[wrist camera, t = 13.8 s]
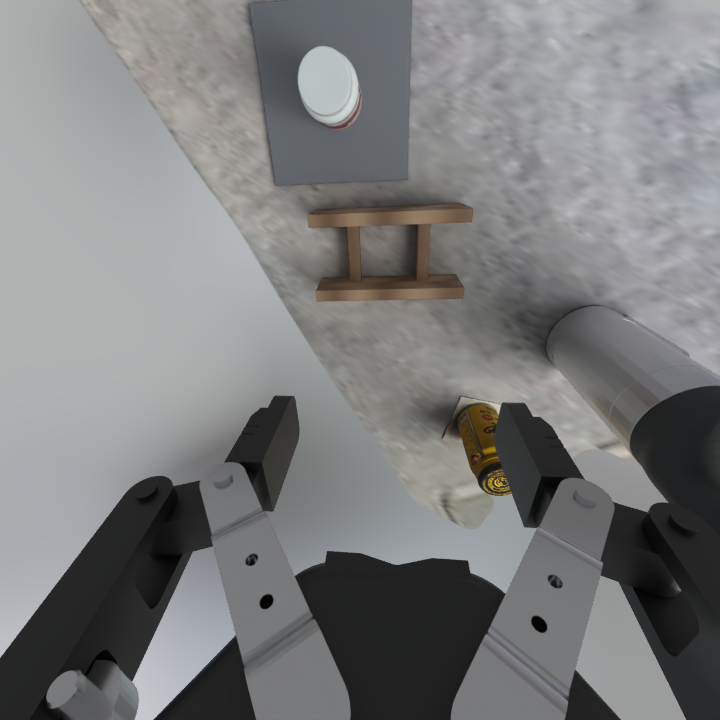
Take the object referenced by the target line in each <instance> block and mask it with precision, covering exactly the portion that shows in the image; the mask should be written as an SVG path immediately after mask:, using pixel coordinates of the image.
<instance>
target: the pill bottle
mask: <svg viewBox="0 0 720 720" xmlns="http://www.w3.org/2000/svg"><path fill="white" fill-rule="evenodd" d="M298 87H299V92H300V95H301V100H302V102H303V104H304V107H305V108H306V110H307V111H308V113H309V114H310V115H311V116H312V117H313V118H314V119H316V120H317V121H319V122H320V123H322V124H323V125H325V126H327V127H328V128H331V129H335V130H340V129H344V128H347V127H349V126H350V125H351V124H352V123H353V122H354V121H355V120H356V118H357V117H358V115H359V112H360V109H361V103H362V95H361V90H360V86H359V82H358V79H357V75H356V72H355V69H354V67H353V65H352V64H351V62H350V61H349V60H348V59H347V57H346V56H344V55H343V54H342V53H340V52H338V51H337V50H335V49H334V48H332V47H328V46H318V47H315V48H313V49H311V50H310V51H309V52H308V53H307V54H306V55H305V56H304V58H303V59H302V61H301V63H300V66H299V70H298Z"/></svg>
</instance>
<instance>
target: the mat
mask: <svg viewBox="0 0 720 720" xmlns="http://www.w3.org/2000/svg"><path fill="white" fill-rule="evenodd" d="M249 7H250V14H251V20H252V27H253V34H254V41H255V47H256V54H257V61H258V68H259V75H260V81H261V88H262V95H263V102H264V108H265V115H266V122H267V129H268V135H269V142H270V149H271V156H272V162H273V169H274V176H275V183H276V186H278V185H300V184H322V183H344V182H366V181H388V180H408V139H409V99H410V59H411V18H412V0H284V1H273V2H262V3H250V4H249ZM318 46H328V47H332V48H334V49H335V50H337V51H338V52H340V53H342V54H343V55H344V56H346V57H347V59H348V60H349V61H350V62H351V64H352V65H353V67H354V69H355V72H356V75H357V79H358V82H359V86H360V90H361V95H362V103H361V109H360V112H359V115H358V117H357V118H356V120H355V121H354V122H353V123H352V124H351V125H350V126H349V127H347V128H344V129H340V130H335V129H331V128H328V127H327V126H325V125H323V124H322V123H320V122H319V121H317V120H316V119H314V118H313V117H312V116H311V115H310V114H309V113H308V111H307V110H306V108H305V107H304V104H303V102H302V100H301V95H300V92H299V87H298V70H299V66H300V63H301V61H302V59H303V58H304V56H305V55H306V54H307V53H308V52H309V51H310V50H311V49H313V48H315V47H318Z"/></svg>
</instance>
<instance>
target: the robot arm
mask: <svg viewBox="0 0 720 720" xmlns="http://www.w3.org/2000/svg"><path fill="white" fill-rule="evenodd" d="M546 349H547V354H548V357H549V359H550V360H551V361H552V362H553V364H554V365H555V366H556V367H557V368H558V369H559V371H560V372H561V373H562V374H563V375H564V377H565V378H566V379H567V380H568V381H569V383H570V384H571V385H572V386H573V387H574V388H575V390H576V391H577V392H578V393H579V394H580V395H581V396H582V398H583V399H584V400H585V401H586V402H587V403H588V405H589V406H590V407H591V408H592V409H593V410H594V412H595V413H596V414H597V415H598V416H599V417H600V419H601V420H602V421H603V422H604V423H605V424H606V426H607V427H608V428H609V429H610V430H611V431H612V432H613V434H614V435H615V436H616V437H617V438H618V439H619V440H620V442H621V443H622V444H623V445H624V446H625V447H626V449H627V450H628V451H629V452H630V453H631V454H632V455H633V457H634V458H635V459H636V460H637V461H638V462H639V464H641V466H642V467H643V469H644V470H645V472H646V474H647V476H648V477H649V479H650V480H651V482H652V483H653V484H654V486H655V487H656V488H657V489H658V490H659V492H661V494H662V495H663V496H664V498H665V499H666V500H667V501H668V503H656V504H653V505H652V506H651V507H650V509H649V511H648V512H644V511H641V510H638V509H634V508H630V507H627V506H624V505H620V504H617V503H615V502H613V501H612V499H611V497H610V496H609V495H608V494H607V493H606V492H605V491H604V490H603V489H602V488H600V487H599V486H597V485H596V484H593V483H592V482H589V481H587V480H585V479H584V478H583V476H582V475H581V473H580V471H579V470H578V468H577V466H576V465H575V463H574V462H573V460H572V458H571V457H570V455H569V454H568V452H567V450H566V449H565V448H564V446H563V444H562V442H561V441H560V439H558V436H557V434H556V433H555V431H554V430H553V428H552V426H550V425H549V424H548V423H547V422H545V421H544V420H543V419H542V418H540V417H533V416H532V414H531V413H530V411H529V409H528V407H527V406H526V404H525V403H504V402H503V403H502V404H501V407H500V412H499V416H498V421H497V425H496V430H495V435H494V443H495V449H496V452H497V455H498V457H499V460H500V463H501V466H502V468H503V471H504V474H505V476H506V479H507V482H508V484H509V487H510V490H511V492H512V495H513V498H514V501H515V503H516V506H517V509H518V511H519V514H520V517H521V519H522V522H523V525H524V527H529V528H537V530H536V532H535V534H534V536H533V538H532V540H531V542H530V544H529V546H528V548H527V550H526V552H525V555H524V557H523V559H522V561H521V563H520V565H519V567H518V569H517V571H516V573H515V576H514V578H513V580H512V582H511V584H510V586H509V588H508V590H507V592H506V594H505V593H504V592H503V591H502V590H500V589H499V588H497V587H496V586H495V585H493V584H492V583H490V582H488V581H487V580H485V579H483V578H481V577H479V576H477V575H474V574H471V573H470V570H469V564H468V561H465V560H451V559H450V560H449V559H436V558H431V559H426V560H421V561H417V562H411V563H406V564H401V565H394V564H391V563H388V562H385V561H382V560H378V559H376V558H373V557H370V556H367V555H364V554H361V553H348V552H333V551H327V555H326V561H325V563H321V564H318V565H315V566H312V567H310V568H308V569H306V570H304V571H302V572H300V573H299V574H297V575H296V576H294V574H293V571H292V569H291V567H290V565H289V562H288V560H287V558H286V556H285V553H284V551H283V549H282V547H281V544H280V542H279V540H278V538H277V536H276V533H275V531H274V529H273V527H272V524H271V522H270V520H269V518H268V515H267V513H266V511H274V508H275V505H276V502H277V499H278V497H279V494H280V491H281V488H282V485H283V482H284V480H285V477H286V474H287V471H288V468H289V466H290V462H291V460H292V457H293V454H294V451H295V448H296V446H297V443H298V439H299V422H298V414H297V408H296V401H295V397H294V396H274V397H273V399H272V401H271V403H270V405H269V407H268V408H260V409H259V410H258V411H257V412H255V413H254V414H253V415H252V416H251V417H250V419H249V421H248V423H247V424H246V427H245V428H244V430H243V431H242V433H241V435H240V436H239V438H238V440H237V441H236V443H235V445H234V447H233V448H232V450H231V452H230V454H229V455H228V457H227V459H226V460H225V462H224V463H222V464H219V465H217V466H215V467H213V468H211V469H210V470H209V471H207V472H206V473H205V474H204V476H203V477H202V479H201V480H200V481H196V482H191V483H187V484H182V485H177V486H173V483H172V481H171V480H170V479H169V478H167V477H164V476H155V477H150V478H147V479H145V480H142V481H140V482H139V483H137V484H135V485H134V486H133V487H131V488H130V489H129V490H128V491H127V492H126V493H125V495H124V496H123V497H122V499H121V500H120V501H119V503H118V504H117V505H116V507H115V508H114V509H113V511H112V512H111V513H110V514H109V516H108V517H107V518H106V520H105V521H104V522H103V524H102V525H101V526H100V528H99V529H98V530H97V532H96V533H95V534H94V536H93V537H92V538H91V539H90V541H89V542H88V543H87V545H86V546H85V547H84V549H83V550H82V551H81V553H80V554H79V555H78V557H77V558H76V559H75V560H74V562H73V563H72V564H71V566H70V567H69V569H68V570H67V571H66V572H65V574H64V575H63V576H62V578H61V579H60V580H59V582H58V583H57V584H56V585H55V587H54V588H53V589H52V591H51V592H50V593H49V595H48V596H47V597H46V599H45V600H44V601H43V603H42V604H41V605H40V607H39V608H38V609H37V610H36V612H35V613H34V614H33V616H32V617H31V619H30V620H29V621H28V622H27V624H26V625H25V626H24V628H23V629H22V630H21V632H20V633H19V634H18V635H17V637H16V638H15V639H14V641H13V642H12V643H11V645H10V646H9V647H8V649H7V650H6V651H5V653H4V654H3V655H2V656H1V658H0V720H134V719H135V716H136V713H137V709H138V702H139V698H138V691H137V688H136V687H135V685H134V684H133V683H132V681H133V679H134V677H135V674H136V672H137V670H138V668H139V666H140V664H141V661H142V659H143V657H144V655H145V653H146V651H147V649H148V646H149V644H150V642H151V640H152V638H153V636H154V633H155V631H156V629H157V627H158V625H159V623H160V621H161V619H162V616H163V614H164V612H165V610H166V608H167V606H168V603H169V601H170V599H171V597H172V595H173V593H174V591H175V589H176V586H177V584H178V582H179V580H180V578H181V576H182V573H183V571H184V569H185V567H186V565H187V563H188V561H189V559H190V556H191V554H192V552H193V551H196V550H200V549H204V548H208V547H212V546H213V547H214V551H215V556H216V559H217V563H218V567H219V571H220V575H221V579H222V582H223V587H224V590H225V594H226V598H227V602H228V606H229V610H230V614H231V617H232V621H233V625H234V629H235V633H236V636H235V637H234V638H233V639H232V640H231V641H230V642H229V643H228V644H227V645H226V646H225V647H224V648H223V649H222V650H221V651H220V652H219V653H218V654H217V655H216V656H215V657H214V658H213V659H212V660H211V661H210V662H209V663H208V665H206V667H204V668H203V669H202V671H201V672H200V673H199V674H198V675H197V676H196V677H195V678H194V679H193V680H192V681H191V682H190V683H189V684H188V685H187V686H186V687H185V688H184V689H183V690H182V691H181V692H180V693H179V694H178V695H177V696H176V697H175V698H174V699H173V700H172V701H171V702H170V703H169V704H168V706H166V707H165V708H164V710H163V711H162V712H161V713H160V714H159V715H158V716H157V717H156V718H155V719H154V720H621V719H620V718H619V717H618V716H617V715H616V714H615V713H614V712H613V710H612V709H611V708H610V707H609V706H608V705H607V704H606V703H605V702H604V701H603V699H602V698H601V697H600V696H599V695H598V694H597V693H596V692H595V691H594V690H593V688H592V687H591V686H590V685H589V684H588V683H587V682H586V681H585V680H584V679H583V678H582V676H581V675H580V674H579V673H578V672H577V671H576V670H575V668H576V664H577V660H578V656H579V653H580V649H581V646H582V642H583V637H584V634H585V630H586V627H587V623H588V620H589V616H590V612H591V608H592V605H593V601H594V597H595V594H596V590H597V586H598V582H599V579H600V575H601V576H604V577H607V578H609V579H612V580H615V581H618V582H619V584H620V586H621V588H622V590H623V592H624V594H625V596H626V598H627V600H628V602H629V604H630V606H631V608H632V610H633V612H634V614H635V616H636V618H637V620H638V622H639V624H640V626H641V628H642V630H643V632H644V635H645V637H646V638H647V640H648V643H649V645H650V647H651V649H652V651H653V653H654V655H655V657H656V659H657V661H658V663H659V665H660V667H661V669H662V671H663V673H664V675H665V677H666V679H667V681H668V683H669V685H670V687H671V689H672V691H673V693H674V695H675V697H676V699H677V702H678V704H679V706H680V708H681V710H682V712H683V714H684V716H685V718H686V720H720V376H718V375H717V374H715V373H713V372H712V371H710V370H708V369H707V368H705V367H703V366H702V365H700V364H699V363H697V362H696V361H694V360H692V359H691V358H689V357H690V356H689V353H688V352H686V351H685V350H683V349H682V348H680V347H678V346H677V345H675V344H673V343H672V342H670V341H668V340H667V339H665V338H663V337H662V336H660V335H659V334H657V333H655V332H654V331H652V330H650V329H649V328H647V327H645V326H644V325H642V324H641V323H639V322H637V321H636V320H634V319H632V318H631V317H624V316H622V315H621V314H619V313H618V312H616V311H614V310H612V309H610V308H608V307H603V306H589V307H583V308H580V309H578V310H575V311H573V312H571V313H569V314H568V315H566V316H565V317H564V318H562V319H561V320H560V321H559V322H558V323H557V324H556V325H555V326H554V327H553V329H552V331H551V332H550V334H549V337H548V339H547V345H546Z"/></svg>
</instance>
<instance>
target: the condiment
mask: <svg viewBox="0 0 720 720" xmlns="http://www.w3.org/2000/svg"><path fill="white" fill-rule="evenodd" d="M500 407H501V405H500V404H496V403H491V402H487V401H482V400H476V399H470V398H465V397H461V398H460V400H459V402H458V405H457V407H456V409H455V411H454V413H453V416H452V418H451V421H450V424H449V425H448V428H447V430H446V432H445V435H444V437H443V439H442V440H450V441H455V442H461V443H463V445H464V448H465V451H466V455H467V458H468V461H469V465H470V468H471V470H472V472H473V473H474V474H475V476H476V478H477V480H478V484H479V486H480V487H481V489H482V490H483V491H485V492H486V493H487V494H490V495H495V496H503V495H507V494H511V493H512V492H511V490H510V487H509V484H508V482H507V479H506V476H505V474H504V471H503V468H502V466H501V463H500V460H499V457H498V455H497V452H496V449H495V443H494V435H495V430H496V425H497V421H498V416H499V412H500ZM456 425H457V426H456Z"/></svg>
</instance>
